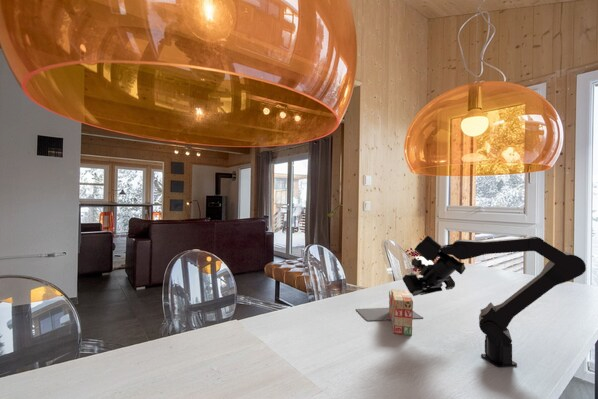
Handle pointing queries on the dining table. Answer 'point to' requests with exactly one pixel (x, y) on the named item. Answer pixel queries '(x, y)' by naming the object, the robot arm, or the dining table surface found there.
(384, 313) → the mat
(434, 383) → the dining table surface
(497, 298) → the dining table surface
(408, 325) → the stack of blocks
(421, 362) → the dining table surface
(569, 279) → the robot arm
